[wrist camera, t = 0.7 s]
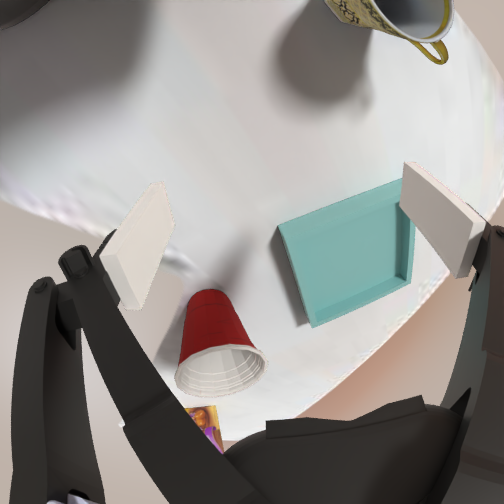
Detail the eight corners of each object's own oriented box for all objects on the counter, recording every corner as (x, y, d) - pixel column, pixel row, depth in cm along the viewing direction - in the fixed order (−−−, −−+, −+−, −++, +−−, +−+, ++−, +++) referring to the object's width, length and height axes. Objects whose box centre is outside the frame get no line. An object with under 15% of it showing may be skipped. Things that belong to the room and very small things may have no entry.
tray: (277, 225, 35) (285, 239, 32) (402, 177, 34) (416, 187, 32) (305, 314, 46) (312, 328, 43) (401, 271, 45) (410, 283, 43)
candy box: (180, 415, 61) (187, 472, 49) (177, 408, 58) (184, 469, 46) (217, 411, 62) (227, 468, 50) (216, 405, 60) (227, 465, 48)
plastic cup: (253, 318, 44) (273, 387, 34) (184, 334, 43) (191, 404, 33) (242, 264, 37) (265, 341, 28) (160, 283, 36) (159, 363, 27)
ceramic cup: (286, -15, 18) (332, -44, 10) (352, -50, 16) (410, -72, 8) (363, 78, 26) (425, 93, 18) (416, 38, 23) (480, 46, 15)
